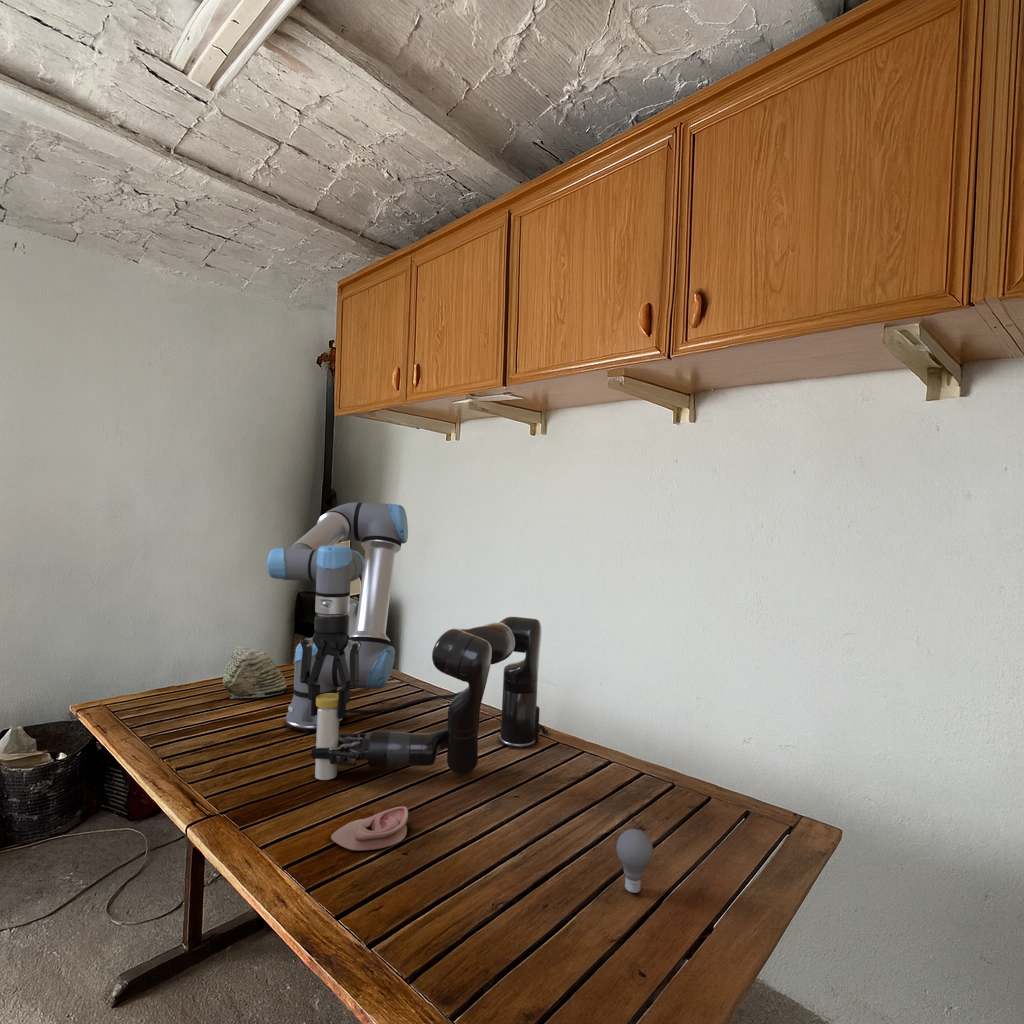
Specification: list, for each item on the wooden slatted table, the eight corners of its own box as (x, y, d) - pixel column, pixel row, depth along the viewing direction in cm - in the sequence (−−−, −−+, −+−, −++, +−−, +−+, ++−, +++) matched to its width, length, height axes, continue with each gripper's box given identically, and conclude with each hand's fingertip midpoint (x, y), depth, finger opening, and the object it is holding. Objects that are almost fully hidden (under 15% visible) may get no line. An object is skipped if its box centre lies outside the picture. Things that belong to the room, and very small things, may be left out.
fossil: (218, 695, 195) (220, 647, 195) (278, 685, 208) (279, 640, 207) (228, 703, 189) (230, 653, 188) (289, 692, 201) (290, 645, 201)
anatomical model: (323, 824, 115) (352, 795, 126) (322, 845, 115) (351, 815, 126) (392, 835, 112) (415, 805, 123) (391, 857, 112) (414, 825, 123)
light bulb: (610, 879, 108) (613, 822, 108) (644, 879, 109) (647, 822, 109) (619, 902, 102) (622, 840, 102) (655, 901, 103) (658, 840, 103)
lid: (329, 698, 148) (330, 691, 148) (346, 703, 145) (347, 696, 145) (310, 704, 143) (310, 697, 143) (327, 710, 140) (327, 702, 140)
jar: (327, 769, 147) (330, 696, 147) (341, 774, 145) (344, 701, 144) (310, 775, 143) (313, 701, 143) (324, 782, 141) (327, 706, 140)
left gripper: (285, 613, 141) (281, 717, 141) (365, 619, 138) (361, 725, 139) (301, 608, 148) (297, 706, 149) (377, 613, 146) (373, 713, 146)
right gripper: (394, 721, 152) (322, 720, 151) (387, 745, 138) (307, 744, 136) (393, 752, 152) (321, 752, 151) (386, 779, 138) (306, 778, 137)
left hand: (328, 715), depth 144 cm, fingers closed on lid, 6 cm apart
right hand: (315, 748), depth 144 cm, fingers closed on jar, 5 cm apart
